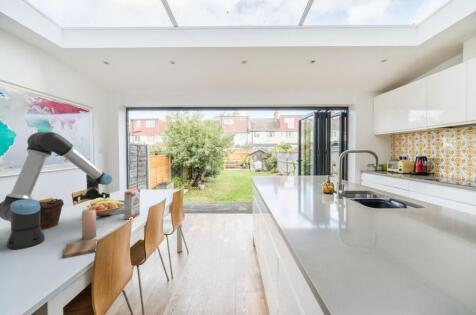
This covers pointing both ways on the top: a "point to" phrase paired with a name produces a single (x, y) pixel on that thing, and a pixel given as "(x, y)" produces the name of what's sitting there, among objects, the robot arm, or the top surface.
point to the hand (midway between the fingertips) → (91, 200)
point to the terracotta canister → (88, 224)
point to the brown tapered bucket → (50, 213)
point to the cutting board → (79, 248)
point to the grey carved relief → (119, 211)
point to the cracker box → (131, 203)
